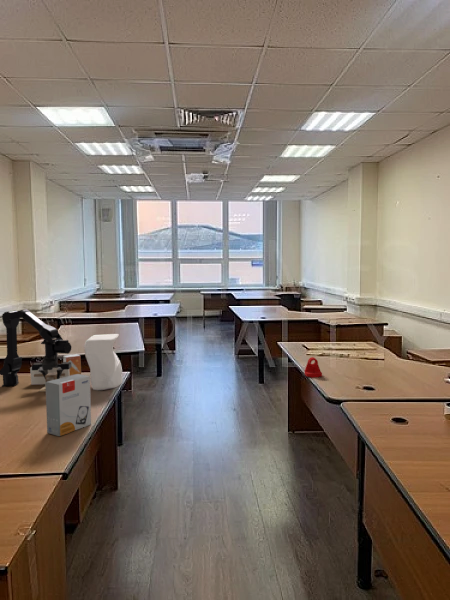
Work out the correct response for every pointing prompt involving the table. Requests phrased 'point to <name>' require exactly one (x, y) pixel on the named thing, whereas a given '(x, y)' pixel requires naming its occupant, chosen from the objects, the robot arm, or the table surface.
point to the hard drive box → (68, 404)
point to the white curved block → (103, 362)
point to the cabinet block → (50, 377)
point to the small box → (73, 363)
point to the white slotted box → (39, 378)
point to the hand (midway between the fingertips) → (52, 382)
